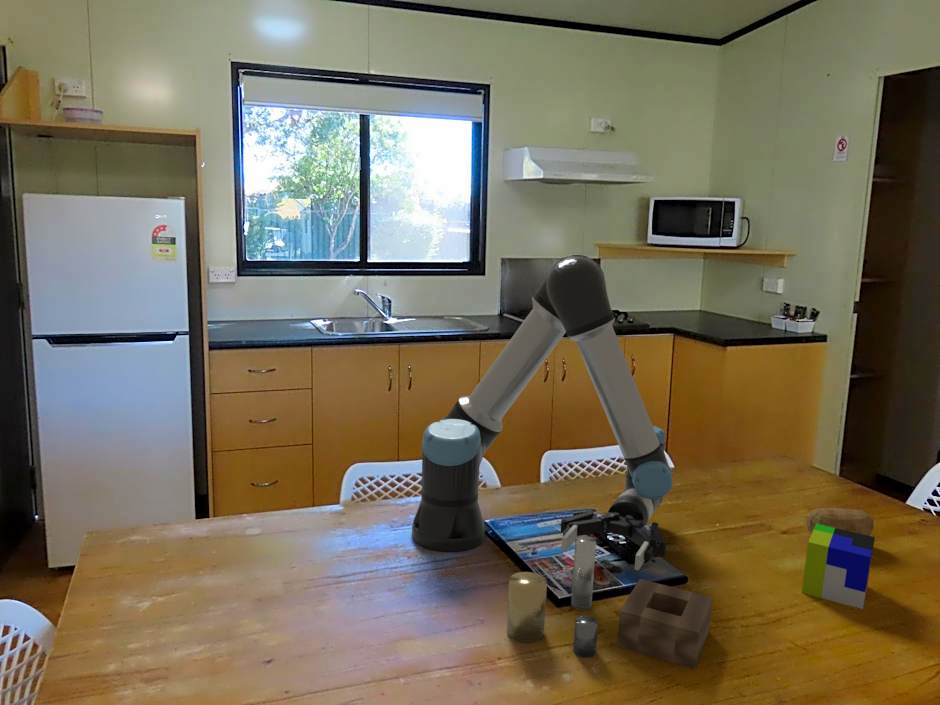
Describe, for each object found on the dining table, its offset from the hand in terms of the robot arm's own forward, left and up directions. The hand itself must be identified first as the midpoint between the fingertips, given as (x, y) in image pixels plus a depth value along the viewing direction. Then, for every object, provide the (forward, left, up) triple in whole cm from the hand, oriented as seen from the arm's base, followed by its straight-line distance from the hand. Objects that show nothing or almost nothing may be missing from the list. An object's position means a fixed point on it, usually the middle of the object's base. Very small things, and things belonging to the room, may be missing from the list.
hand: (599, 553), depth 133 cm
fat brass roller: (-6, -20, -7) cm, 22 cm away
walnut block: (+14, -10, -7) cm, 19 cm away
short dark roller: (+4, -20, -7) cm, 21 cm away
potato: (+38, +45, -7) cm, 60 cm away
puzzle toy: (+38, +23, -7) cm, 45 cm away
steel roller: (-1, -7, -7) cm, 10 cm away
